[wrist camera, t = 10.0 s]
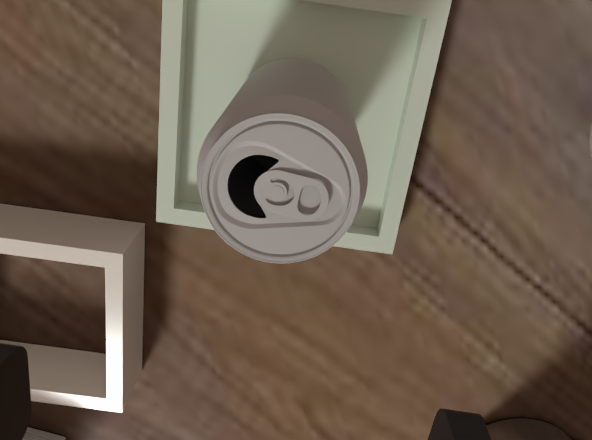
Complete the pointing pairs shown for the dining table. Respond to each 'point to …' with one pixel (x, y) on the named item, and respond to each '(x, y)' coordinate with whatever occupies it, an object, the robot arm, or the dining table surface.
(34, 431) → the supplement box
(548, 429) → the robot arm
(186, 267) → the dining table surface
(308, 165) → the beverage can
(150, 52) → the dining table surface
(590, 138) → the lidded jar
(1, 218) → the holder
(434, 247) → the dining table surface
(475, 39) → the dining table surface
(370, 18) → the tray
